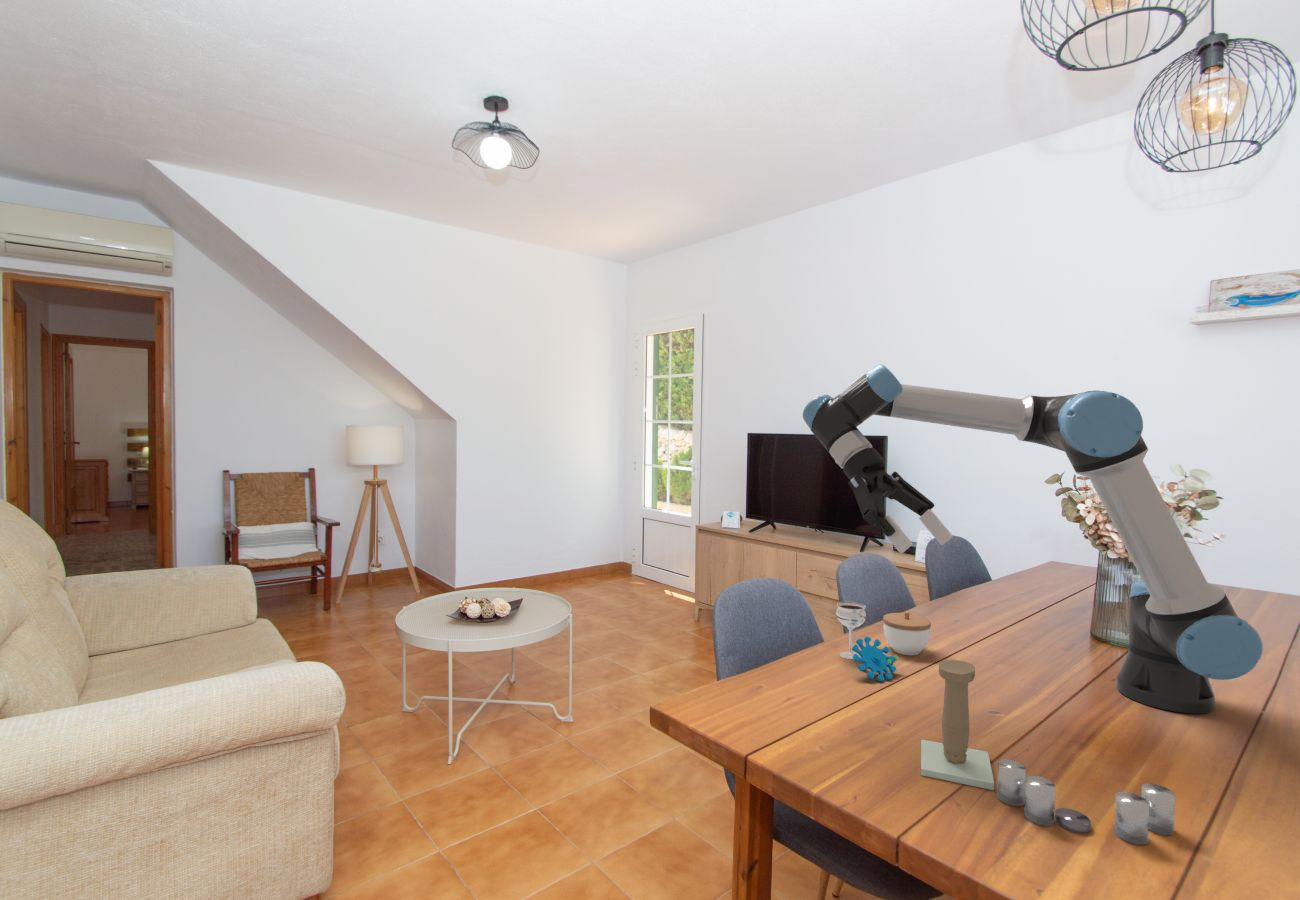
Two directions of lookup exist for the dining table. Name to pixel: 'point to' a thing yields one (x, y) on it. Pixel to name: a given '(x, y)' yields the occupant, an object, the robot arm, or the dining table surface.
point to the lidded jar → (906, 632)
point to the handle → (956, 708)
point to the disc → (1072, 820)
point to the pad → (956, 766)
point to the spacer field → (1130, 809)
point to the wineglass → (850, 620)
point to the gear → (874, 659)
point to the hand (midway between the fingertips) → (927, 545)
